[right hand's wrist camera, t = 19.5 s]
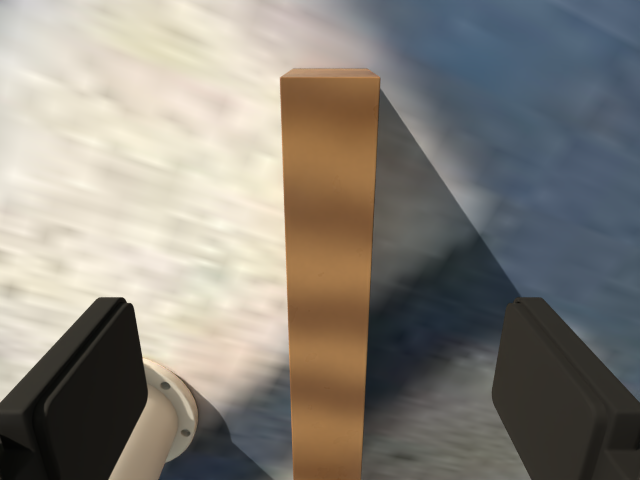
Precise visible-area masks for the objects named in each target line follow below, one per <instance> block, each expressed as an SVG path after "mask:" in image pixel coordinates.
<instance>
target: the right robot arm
mask: <svg viewBox="0 0 640 480" xmlns="http://www.w3.org/2000/svg"><path fill="white" fill-rule="evenodd" d="M492 399H493V403H494V406H495V408H496V410H497V412H498V414H499V416H500V418H501V420H502V422H503V424H504V426H505V428H506V430H507V432H508V434H509V436H510V438H511V440H512V442H513V444H514V446H515V448H516V450H517V452H518V454H519V456H520V458H521V460H522V462H523V464H524V466H525V468H526V470H527V472H528V474H529V476H530V478H531V480H640V402H639V401H638V400H637V399H636V398H635V397H634V396H633V395H632V394H631V393H630V392H629V391H628V390H627V389H626V387H625V386H624V385H623V384H622V383H621V382H620V381H619V380H618V379H617V378H616V377H615V376H614V375H613V373H612V372H611V371H610V370H609V369H608V368H607V367H606V366H605V365H604V364H603V363H602V362H601V361H600V360H599V358H598V357H597V356H596V355H595V354H594V353H593V352H592V351H591V350H590V349H589V348H588V347H587V346H586V344H585V343H584V342H583V341H582V340H581V339H580V338H579V337H578V336H577V335H576V334H575V333H574V332H573V330H572V329H571V328H570V327H569V326H568V325H567V324H566V323H565V322H564V321H563V320H562V319H561V318H560V317H559V315H558V314H557V313H556V312H555V311H554V310H553V309H552V308H551V307H550V306H549V305H548V304H547V303H546V301H545V300H544V299H542V298H539V297H517V298H516V299H515V300H514V302H513V303H509V304H508V305H507V307H506V312H505V318H504V323H503V329H502V335H501V341H500V347H499V352H498V358H497V364H496V370H495V376H494V381H493V387H492ZM197 424H198V409H197V406H196V402H195V399H194V398H193V396H192V394H191V392H190V390H189V389H188V388H187V387H186V385H185V384H184V383H183V382H182V380H180V379H179V378H178V377H177V376H176V375H175V374H173V373H172V372H171V371H169V370H168V369H166V368H164V367H163V366H161V365H159V364H157V363H155V362H152V361H150V360H148V359H144V358H142V352H141V347H140V341H139V335H138V329H137V323H136V318H135V312H134V307H133V305H132V304H131V303H127V302H126V300H125V299H124V298H123V297H101V298H98V299H96V300H95V301H94V303H93V304H92V305H91V306H90V307H89V308H88V309H87V310H86V311H85V312H84V313H83V314H82V315H81V317H80V318H79V319H78V320H77V321H76V322H75V323H74V324H73V325H72V326H71V327H70V328H69V329H68V330H67V332H66V333H65V334H64V335H63V336H62V337H61V338H60V339H59V340H58V341H57V342H56V343H55V344H54V346H53V347H52V348H51V349H50V350H49V351H48V352H47V353H46V354H45V355H44V356H43V357H42V358H41V360H40V361H39V362H38V363H37V364H36V365H35V366H34V367H33V368H32V369H31V370H30V371H29V372H28V373H27V375H26V376H25V377H24V378H23V379H22V380H21V381H20V382H19V383H18V384H17V385H16V386H15V387H14V389H13V390H12V391H11V392H10V393H9V394H8V395H7V396H6V397H5V398H4V399H3V400H2V401H1V402H0V480H158V479H159V477H160V474H161V472H162V469H163V467H164V464H165V463H166V462H169V461H171V460H173V459H174V458H176V457H178V456H179V455H180V454H182V453H183V452H184V451H185V450H186V449H187V447H188V446H189V445H190V443H191V442H192V439H193V437H194V434H195V432H196V428H197Z"/></svg>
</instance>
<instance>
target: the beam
mask: <svg viewBox="0 0 640 480" xmlns="http://www.w3.org/2000/svg"><path fill="white" fill-rule="evenodd" d="M280 95H281V124H282V154H283V183H284V212H285V242H286V271H287V300H288V330H289V359H290V389H291V418H292V447H293V477H294V480H361V469H362V448H363V428H364V407H365V386H366V366H367V345H368V324H369V304H370V283H371V262H372V241H373V221H374V200H375V179H376V159H377V138H378V117H379V97H380V77H379V76H377V75H376V74H374V73H373V72H371V71H370V70H368V69H292V70H291V71H289V72H288V73H286V74H285V75H283V76H282V77H280Z"/></svg>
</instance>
